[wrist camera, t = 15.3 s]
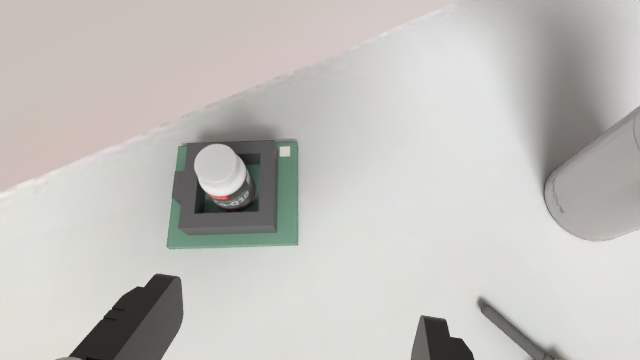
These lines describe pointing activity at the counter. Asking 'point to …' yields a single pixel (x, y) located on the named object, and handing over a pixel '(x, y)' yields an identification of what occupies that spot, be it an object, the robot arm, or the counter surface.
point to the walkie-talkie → (514, 334)
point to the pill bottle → (225, 178)
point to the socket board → (249, 225)
